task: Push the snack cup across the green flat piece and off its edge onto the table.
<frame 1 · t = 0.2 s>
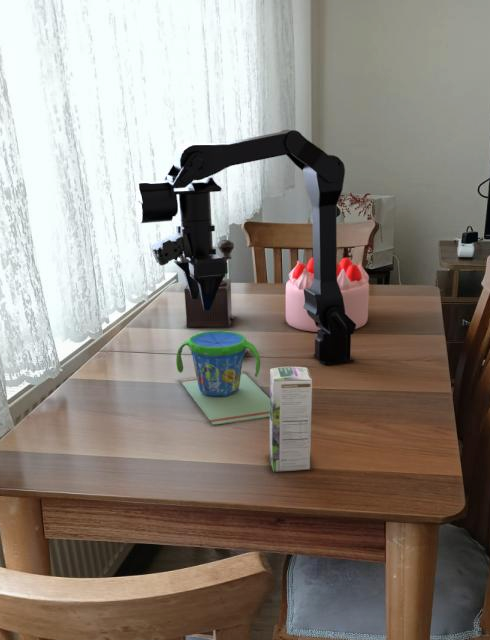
hand: (200, 304, 148), 14 cm above the table, tool pointing down, fingers open, 9 cm apart
manual coffee grinder: (212, 319, 192), on the table
donut: (225, 355, 167), on the table
syrup box: (290, 464, 119), on the table
cake: (326, 322, 188), on the table
green flat piece: (229, 396, 144), on the table
snack cup: (219, 392, 147), resting on green flat piece
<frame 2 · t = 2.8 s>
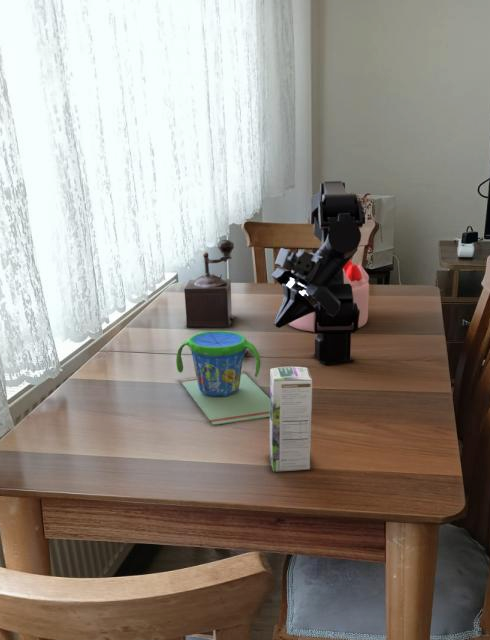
hand: (276, 326, 146), 11 cm above the table, tool tilted 45°, fingers closed
nothing on the table moved.
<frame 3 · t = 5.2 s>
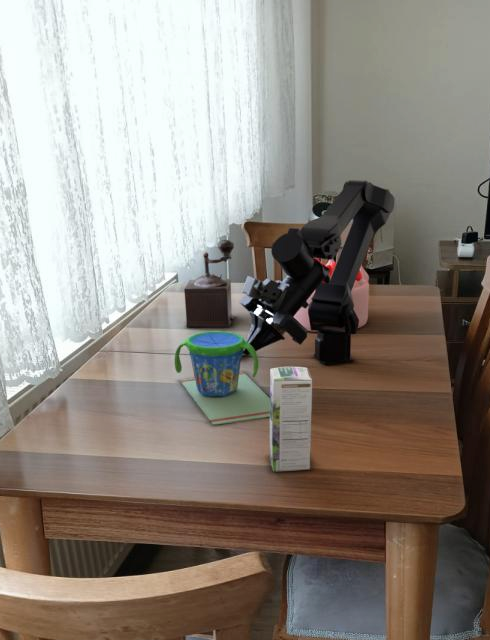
hand: (243, 353, 145), 7 cm above the table, tool tilted 45°, fingers closed
snack cup: (217, 392, 146), resting on green flat piece, touching gripper
everything else where it was.
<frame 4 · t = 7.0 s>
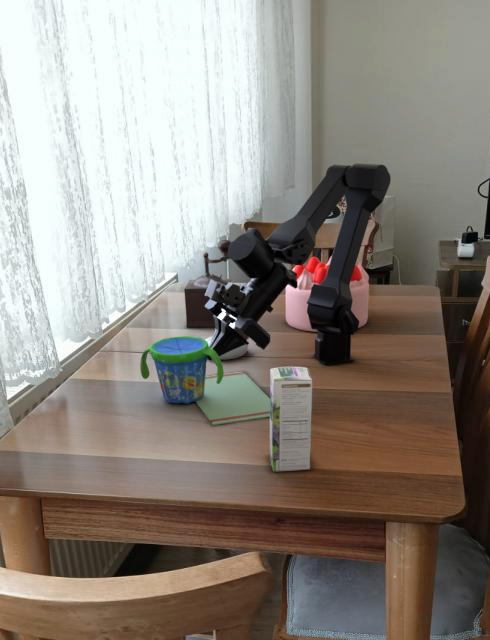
hand: (207, 358, 143), 7 cm above the table, tool tilted 45°, fingers closed
snack cup: (184, 398, 144), on the table, touching gripper, green flat piece
everything else where it was.
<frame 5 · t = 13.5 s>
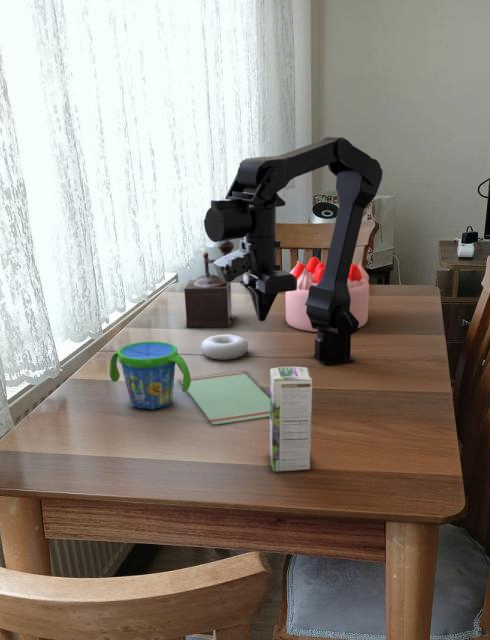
hand: (261, 320, 146), 12 cm above the table, tool pointing down, fingers closed
snack cup: (152, 404, 142), on the table
everything else where it was.
at the end: snack cup touching table; snack cup inside the target area (3.8 cm from its centre), on the table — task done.
